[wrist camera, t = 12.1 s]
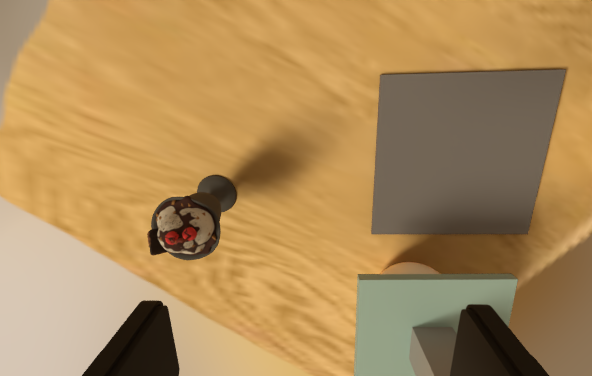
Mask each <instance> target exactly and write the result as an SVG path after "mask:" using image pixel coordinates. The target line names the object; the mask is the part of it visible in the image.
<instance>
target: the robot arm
mask: <svg viewBox="0 0 592 376" xmlns="http://www.w3.org/2000/svg"><path fill="white" fill-rule="evenodd" d="M82 376H179V364H178V359H177V353H176V348H175V343H174V338H173V333H172V327H171V322H170V317H169V311H168V307H167V306H163V303H162V302H161V301H142V302H140V303H139V305H138V306H137V307H136V308H135V310H134V311H133V312H132V313H131V315H130V316H129V317H128V318H127V320H126V321H125V322H124V324H123V325H122V326H121V327H120V329H119V330H118V332H116V334H115V335H114V336H113V337H112V339H111V340H110V341H109V343H108V344H107V345H106V346H105V348H104V349H103V350H102V351H101V352H100V353H99V355H98V356H97V357H96V358H95V360H94V361H93V362H92V364H91V365H90V366H89V367H88V369H87V370H86V371H85V372H84V374H83V375H82ZM450 376H549V375H548V374H547V372H546V371H545V370H544V369H543V368H542V366H541V365H540V364H539V363H538V362H537V360H536V359H535V358H534V357H533V356H532V355H530V354H529V352H528V351H527V350H526V349H525V347H524V346H523V345H522V344H521V343H520V342H519V340H518V339H517V337H516V336H515V335H514V334H513V333H512V331H511V330H510V329H509V328H508V326H507V325H506V324H505V323H504V321H503V320H502V319H501V318H500V316H499V315H498V314H497V313H496V311H495V310H494V309H493V308H492V307H491V306H490V305H488V304H469V305H467V307H466V309H462V310H461V313H460V319H459V325H458V331H457V336H456V342H455V348H454V354H453V360H452V365H451V371H450Z"/></svg>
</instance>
